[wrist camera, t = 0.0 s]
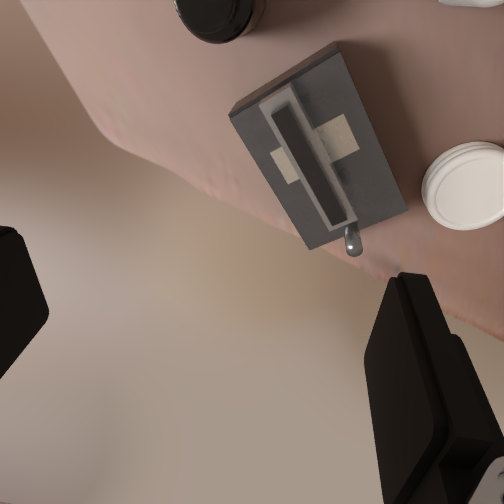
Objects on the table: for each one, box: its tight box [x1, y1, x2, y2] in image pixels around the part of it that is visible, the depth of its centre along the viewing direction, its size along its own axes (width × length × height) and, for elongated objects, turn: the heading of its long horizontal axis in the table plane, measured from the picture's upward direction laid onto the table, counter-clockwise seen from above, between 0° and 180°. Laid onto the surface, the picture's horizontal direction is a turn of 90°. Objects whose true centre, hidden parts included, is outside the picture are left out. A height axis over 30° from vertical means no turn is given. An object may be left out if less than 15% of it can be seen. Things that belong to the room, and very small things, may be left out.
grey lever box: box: [228, 41, 408, 257], centre depth 39 cm, size 18×12×12 cm, turn 31°
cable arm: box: [259, 82, 358, 232], centre depth 35 cm, size 14×3×3 cm, turn 31°
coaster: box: [421, 141, 504, 230], centre depth 44 cm, size 10×10×4 cm
